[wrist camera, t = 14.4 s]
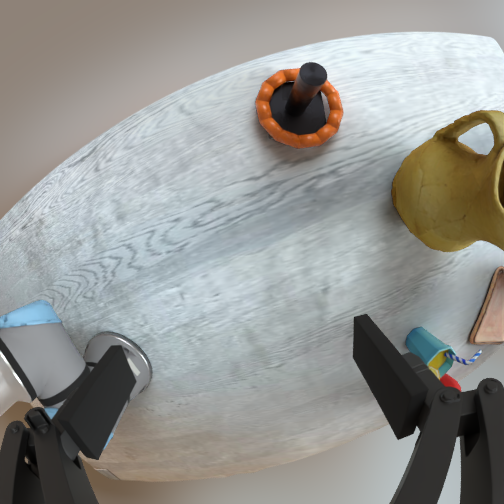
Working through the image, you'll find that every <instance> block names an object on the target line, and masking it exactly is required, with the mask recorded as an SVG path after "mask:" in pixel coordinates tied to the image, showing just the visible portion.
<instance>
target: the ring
mask: <svg viewBox="0 0 504 504" xmlns="http://www.w3.org/2000/svg"><path fill="white" fill-rule="evenodd" d="M299 70H300V68H297V69H287V70H280V71H278V72H277V73H275V74H274V75H273V76H271V77H270V78H268V79H267V80H266V81H264V82H263V83H262V85H261V88H260V91H259V93H258V96H257V98H256V101H255V105H256V109H257V114H258V118H259V122H260V124H261V126H262V127H263V128H264V129H265V130H266V131H267V132H268V133H269V134H270V135H271V136H272V137H273V139H274V140H276V141H278V142H281V143H283V144H286V145H289V146H292V147H294V148H297V149H300V148H307V147H314V146H320V145H322V144H323V143H325V142H326V141H327V140H328V139H330V138H331V137H332V136H333V135H335V134H336V133H337V131H338V129H339V126H340V122H341V119H342V116H343V108H342V104H341V100H340V97H339V93H338V91H337V90H336V89H335V88H334V87H333V86H332V85H331V84H330V83H329V82H328V80H326V82H325V83H324V84H323V86H322V87H321V89H320V90H321V92H322V93H323V94H324V95H325V96H326V97H327V100H328V104H329V108H330V113H329V117H328V120H327V123H326V125H324V126H323V127H322V128H321V129H319V130H318V131H317V132H316V133H312V134H305V135H297V134H294V133H292V132H289V131H286V130H283V129H282V128H281V126H280V125H279V124H278V123H277V122H276V121H275V120H274V119H273V118H272V114H271V109H270V105H269V102H270V99H271V97H272V94H273V91H274V90H275V89H276V88H278V87H279V86H280V85H282V84H283V83H285V82H287V81H295V80H296V78H297V75H298V73H299Z"/></svg>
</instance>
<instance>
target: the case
mask: <svg viewBox="0 0 504 504" xmlns="http://www.w3.org/2000/svg"><path fill="white" fill-rule="evenodd" d="M503 342H504V267H502V266H500V267H498V268H497V269H496V271H495V273H494V276H493V279H492V282H491V285H490V288H489V291H488V294H487V297H486V300H485V302H484V305H483V308H482V310H481V313H480V315H479V317H478V320H477V322H476V324H475V327H474V329H473V331H472V333H471V336H470V343H471V344H501V343H503Z"/></svg>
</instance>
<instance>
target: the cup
mask: <svg viewBox="0 0 504 504" xmlns="http://www.w3.org/2000/svg"><path fill="white" fill-rule="evenodd" d="M406 346H407V347H408V349H409V350H410V352H411V353H413V354H415V355H417V356H419V357H420V358H421V359H422V360H423V362H424V363H425V364H426V365H427V366H428V367H429V369H431V371H432V372H433V373H434V374H435V375H436V376H437V378H438V379H439V380H440V378H441V377H442V376H443V375H444V374H445V373H446V372H447V371H448V370H449V369H450V368H451V367H452V364H453V361H454V360H455V361H457V362H460V363H462V364H464V365H469V364H472V363H473V362H474V361H475V360H476V359H477V358H478V356H479V355H480V354H481V353H482V351H481V350H479V351H478V352H477V353H476V354H475V355H474V356H473V357H472V358H471V359H470V360H464V359H462V358H459V357H457V356H455V355H456V353H455V352H454V350H453V349H452V348H451V346H449V345H445V344H444V343H443V342H441V341H440V340H439V339H437V338H436V337H435V336H433V335H432V334H431V333H429V332H428V331H427V330H425V329H424V328H422V327H419V328H415V329H413V330H412V331H411V332H410V333H409V334H408V335H407V339H406Z"/></svg>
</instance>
